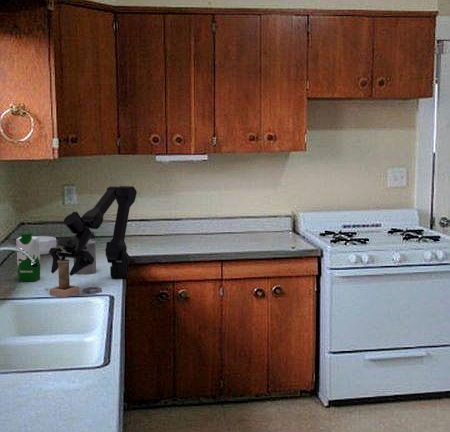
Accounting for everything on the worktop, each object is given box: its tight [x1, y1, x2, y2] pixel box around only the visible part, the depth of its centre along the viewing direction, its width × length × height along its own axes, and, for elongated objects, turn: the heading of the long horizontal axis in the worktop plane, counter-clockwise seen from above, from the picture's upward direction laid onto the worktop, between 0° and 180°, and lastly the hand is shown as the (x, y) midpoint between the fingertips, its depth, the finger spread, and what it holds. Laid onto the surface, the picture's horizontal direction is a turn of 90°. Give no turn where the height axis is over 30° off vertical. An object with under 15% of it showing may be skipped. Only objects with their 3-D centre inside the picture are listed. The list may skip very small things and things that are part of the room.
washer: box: [82, 286, 103, 294], centre depth 253 cm, size 7×7×1 cm
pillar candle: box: [73, 239, 97, 275], centre depth 287 cm, size 10×10×15 cm
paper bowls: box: [39, 235, 57, 256], centre depth 335 cm, size 15×15×8 cm
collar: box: [49, 284, 80, 298], centre depth 248 cm, size 8×8×2 cm
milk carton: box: [15, 232, 41, 283], centre depth 272 cm, size 9×9×20 cm
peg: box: [57, 258, 71, 290], centre depth 248 cm, size 4×4×13 cm
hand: (61, 273), depth 246 cm, fingers open, 9 cm apart
